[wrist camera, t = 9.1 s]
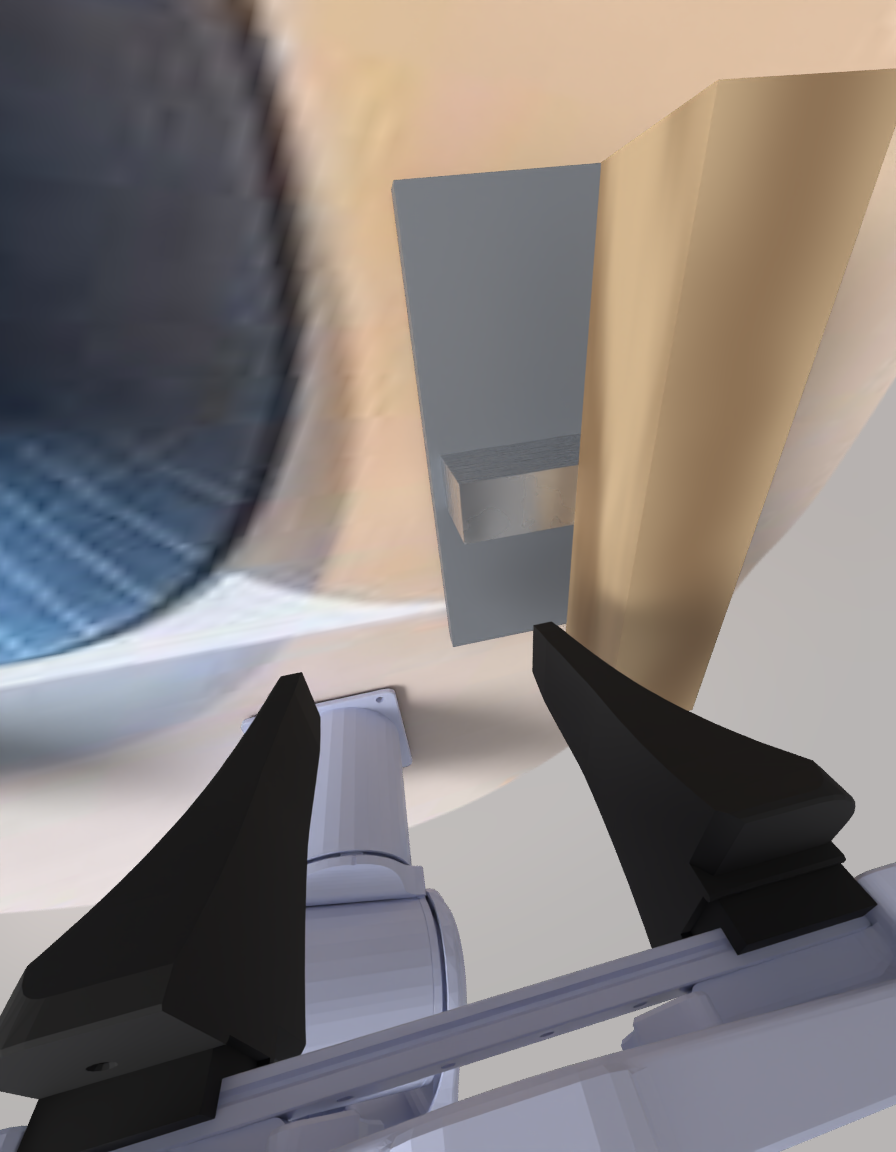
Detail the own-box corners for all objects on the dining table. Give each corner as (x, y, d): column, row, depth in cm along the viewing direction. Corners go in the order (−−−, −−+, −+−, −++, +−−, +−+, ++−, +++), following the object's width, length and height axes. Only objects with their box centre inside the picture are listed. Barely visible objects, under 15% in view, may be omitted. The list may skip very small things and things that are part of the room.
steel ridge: (445, 506, 19) (464, 544, 15) (440, 455, 17) (459, 484, 14) (698, 463, 20) (766, 489, 17) (710, 412, 19) (786, 430, 15)
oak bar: (563, 663, 20) (604, 730, 17) (601, 162, 10) (718, 79, 7) (637, 647, 20) (692, 709, 17) (741, 150, 11) (915, 67, 7)
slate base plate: (450, 636, 24) (453, 647, 23) (391, 189, 13) (393, 180, 13) (661, 592, 26) (672, 601, 25) (762, 157, 15) (786, 147, 14)
